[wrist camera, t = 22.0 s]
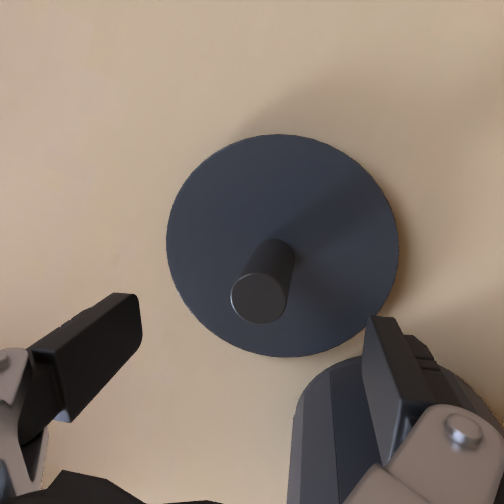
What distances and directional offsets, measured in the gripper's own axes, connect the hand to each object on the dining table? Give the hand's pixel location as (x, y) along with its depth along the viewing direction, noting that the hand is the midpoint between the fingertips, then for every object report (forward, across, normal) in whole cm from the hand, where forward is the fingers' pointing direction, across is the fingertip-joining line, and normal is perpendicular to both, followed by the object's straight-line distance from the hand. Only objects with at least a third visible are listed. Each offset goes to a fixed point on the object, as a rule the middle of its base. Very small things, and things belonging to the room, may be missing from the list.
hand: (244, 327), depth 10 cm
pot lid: (+8, 0, 0) cm, 8 cm away
